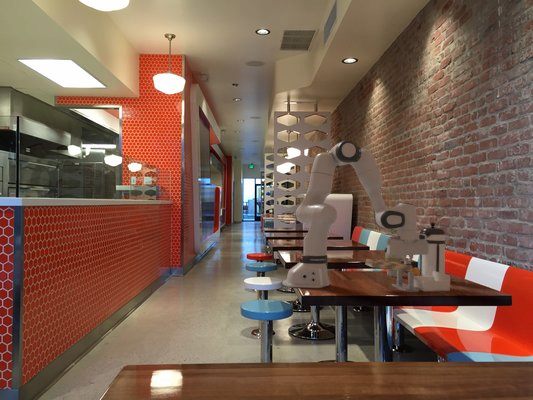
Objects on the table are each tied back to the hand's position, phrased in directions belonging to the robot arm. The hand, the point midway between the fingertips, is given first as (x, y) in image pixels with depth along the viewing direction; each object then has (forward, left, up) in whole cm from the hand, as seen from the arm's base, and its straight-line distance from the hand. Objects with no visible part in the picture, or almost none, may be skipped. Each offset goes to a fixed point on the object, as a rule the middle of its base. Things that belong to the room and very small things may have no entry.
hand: (407, 264), depth 203 cm
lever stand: (-6, -9, -10) cm, 15 cm away
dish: (+6, -9, -10) cm, 15 cm away
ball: (-1, -9, -2) cm, 9 cm away
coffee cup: (+4, +25, -10) cm, 27 cm away
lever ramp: (-11, -5, -2) cm, 12 cm away
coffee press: (+20, +13, -10) cm, 26 cm away
